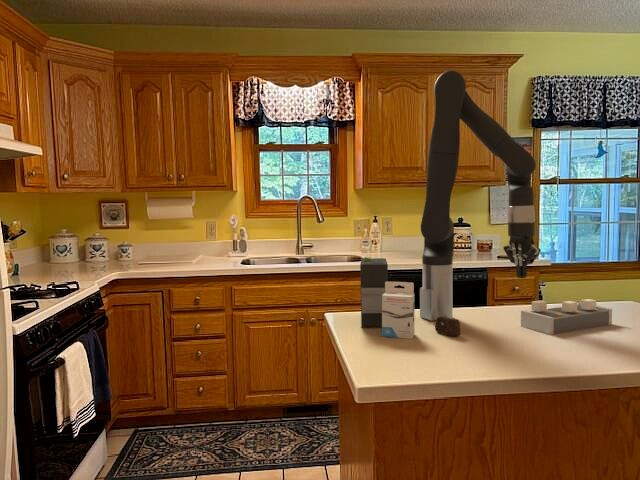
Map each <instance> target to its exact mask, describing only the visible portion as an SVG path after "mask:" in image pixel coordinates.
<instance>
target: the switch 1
mask: <svg viewBox="0 0 640 480" xmlns="http://www.w3.org/2000/svg"><path fill="white" fill-rule="evenodd" d="M547 305H548V304H547V301H543V300H534V301H531V311H538V312H539V311H546V310H547V309H548V307H547Z"/></svg>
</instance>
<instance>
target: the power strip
mask: <svg viewBox="0 0 640 480" xmlns="http://www.w3.org/2000/svg"><path fill="white" fill-rule="evenodd" d="M608 325H613V308H610V307H606V306H601V305H596V309H592V310H586V309H582V308H581V301H579V302H577V311H574V312H566V311H562V306H560V307H551V308H547V310H546V311H539V312H538V311H534V310H531V311H528V310H525V309H524V310H523V309H522V310H520V326H521V327H523V328H525V329H526V328H527V329H528V330H533V331H537V332H539V333H543V334H547V335H554V334H555V335H556V334H560V333H566V332H573V331H579V330H584V329H590V328H596V327H597V328H598V327H603V326H608Z"/></svg>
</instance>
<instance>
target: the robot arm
mask: <svg viewBox="0 0 640 480" xmlns="http://www.w3.org/2000/svg"><path fill="white" fill-rule="evenodd" d="M466 83H467V82H466V79H465V78H464V76H463V75H462V74H461V73H460V72H458V71H457V70H452V69H451V70H446V71H444V72H442V73H441V74H440V75H439V76H438V77H437V79H436V81H435V82H434V85H433V86H434V87H433V94H434V118H433V119H434V121H433V127H432V129H431V134H430V140H429V145H428V153H427V162H426V164H427V165H426V183H425V186H426V189H425V191H426V192H425V193H426V195H425V201H424V205H423V206H424V208H423V213H422V218H421V221H420V233H421V236H422V237H423V239H424V240H423V241H424V242H423V243H424V244H423V252H422V258H421V259H422V260H421V261H422V263H421V265H422V287H420V288H419V317H420V318H421V319H425V320H428V321H436V322H437V318H438V317H441V316H446V317H448V318H451V319H454V318H453V314H454V313H453V310H454V309H453V256H454V245H455V244H454V243H455V239H454V238H455V235H454V234H455V228H454V222H453V219H452V218H451V216H450V215H451V214H450V208H451V206H450V204H451V196H452V193H453V189H454V185H455V182H456V179H457V173H458V169H459V158H460V143H461V141H460V139H461V136H460V135H461V131H460V127H461V126H460V125H461V124H460V120H461V121H462V122H463V123H464V125H466V126H467V127H468V128H469V129H470V131H471V132H472V133H473V134H474V135H475V136H476V137H477V138H478V140H479V141H481V143H482V144H483V145H484V146H485V148H487V150H488V151H489V152H490V153H492V154H493V155H494V157H496V158H499V159H500V160H501V161H502V162H503V163H504V164H505V165H506V178H507V185H508V209H507V235H508V237H509V240H508V244H507V245H506V246H505V245H504V246H503V247H502V249H503V251H504V252H505V255H506V256H507V257H508V259H509V261H510V263H511V264H514V265H515V270H516V271H515V275H516V278H518V279H525V278H527V276H528V273H527V272H528V265H532V264H533V263H534V262H535V261H536V259H537V257H538V256H539V254H540V253H541V251H542V250H541V248H539V247H537V246H535V241H534V237H535V236H536V225H535V224H536V222H535V221H536V216H535V215H536V213H535V199H534V198H535V197H534V196H535V193H534V188H533V187H532V178H531V175H532V174H533V173H534V172H535V169H536V163H537V162H536V160H535V158H534V157H533V155H532V154H531V153H530V152H529V151H528V150H526V148H524V147H523V146H522V145H520V144H519V143H518V142H516V141H515V140H514V138H513V137H512V136H511V135H510V133H508V132H507V131H506V129H505V128H504V127H503V126H502V125H501V124H499V122H497V121H496V119H494V118H493V117H492V116H490V115H489V114H488V113H486V112H485V111H484V110H482V108H481V107H480V106H479V105H478V104H476V102H475V101H474V100H473V99H472V97H471V96H470V94H469V93H468V92H467V84H466Z"/></svg>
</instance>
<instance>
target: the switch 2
mask: <svg viewBox="0 0 640 480" xmlns="http://www.w3.org/2000/svg"><path fill="white" fill-rule="evenodd" d="M577 305H578V301H574V300H573V301H572V300H567V301H561V307H562V311H566V312H574V311H577Z"/></svg>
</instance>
